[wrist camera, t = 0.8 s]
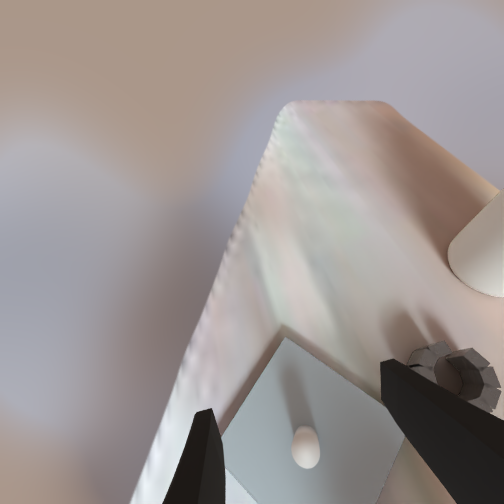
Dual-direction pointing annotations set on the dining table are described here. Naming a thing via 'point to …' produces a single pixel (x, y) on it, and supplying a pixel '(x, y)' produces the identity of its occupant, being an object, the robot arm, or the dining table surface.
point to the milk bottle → (481, 250)
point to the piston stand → (310, 436)
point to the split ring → (461, 373)
